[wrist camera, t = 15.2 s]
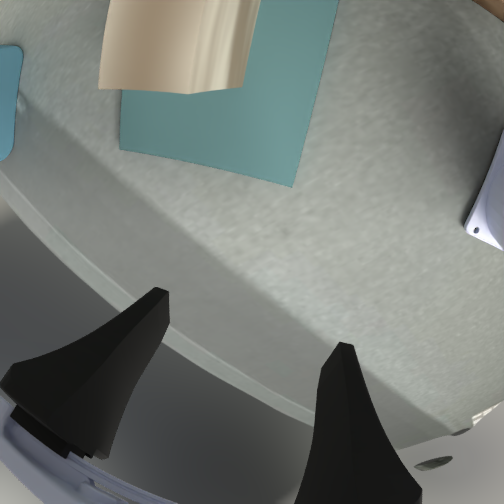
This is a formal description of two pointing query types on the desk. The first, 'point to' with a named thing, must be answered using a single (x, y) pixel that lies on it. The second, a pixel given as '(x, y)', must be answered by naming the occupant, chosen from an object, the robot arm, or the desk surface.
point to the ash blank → (177, 45)
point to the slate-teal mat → (243, 101)
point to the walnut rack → (493, 7)
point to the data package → (8, 95)
